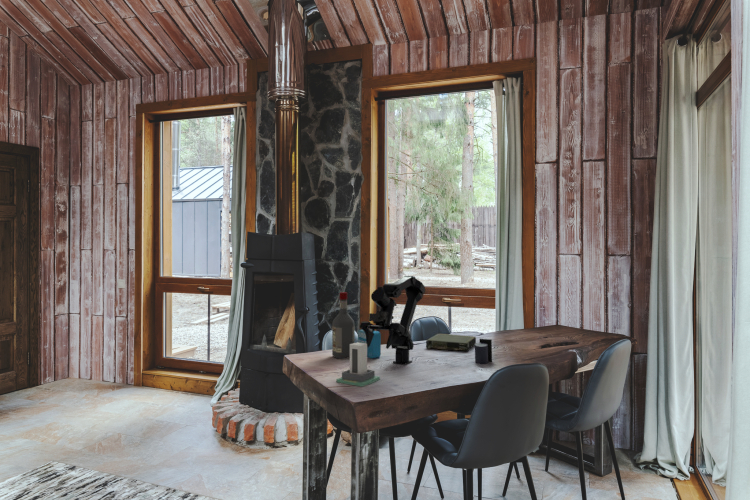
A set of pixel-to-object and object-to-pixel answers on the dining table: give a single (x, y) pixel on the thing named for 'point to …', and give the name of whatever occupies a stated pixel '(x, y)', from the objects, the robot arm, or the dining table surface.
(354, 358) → the white rectangular block
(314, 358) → the dining table surface
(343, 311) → the liquor
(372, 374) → the green and grey tray
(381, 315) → the robot arm
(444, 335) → the network switch
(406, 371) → the dining table surface
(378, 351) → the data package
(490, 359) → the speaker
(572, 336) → the dining table surface
